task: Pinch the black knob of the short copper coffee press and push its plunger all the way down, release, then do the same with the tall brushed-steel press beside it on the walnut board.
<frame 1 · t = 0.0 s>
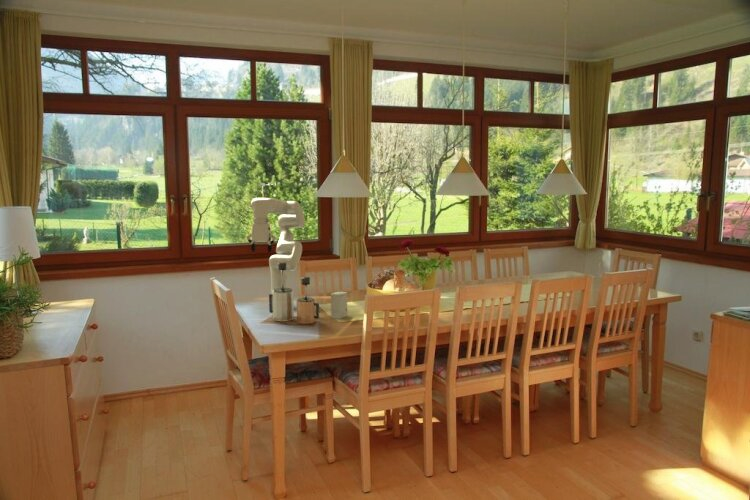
hand: (261, 251, 319), 37 cm above the table, tool pointing down, fingers open, 9 cm apart
walnut board: (292, 322, 310), on the table
skincare box: (339, 319, 318), on the table
copper press: (306, 321, 307), resting on walnut board
steel plunger: (282, 279, 309), point 23 cm above the table, slide at 0.0 cm
steel press: (283, 319, 312), resting on walnut board
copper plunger: (305, 291, 305), point 18 cm above the table, slide at 0.0 cm
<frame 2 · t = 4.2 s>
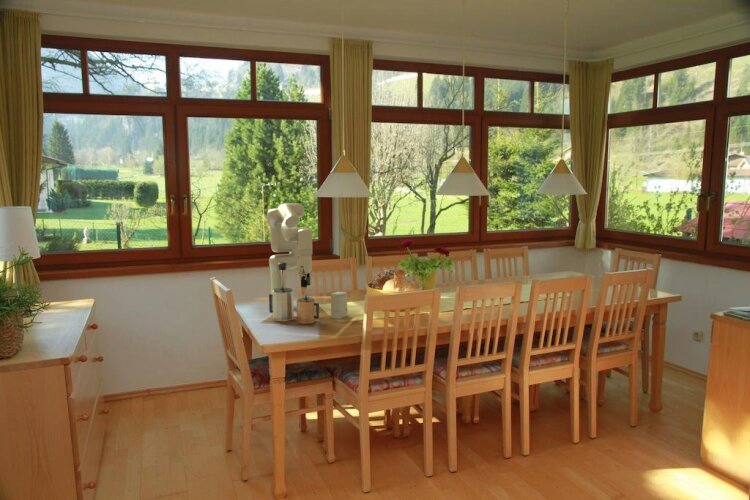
hand: (305, 285, 304), 21 cm above the table, tool pointing down, fingers closed on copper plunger, 4 cm apart
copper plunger: (305, 291, 305), point 18 cm above the table, slide at 0.0 cm, touching gripper
everything else where it was.
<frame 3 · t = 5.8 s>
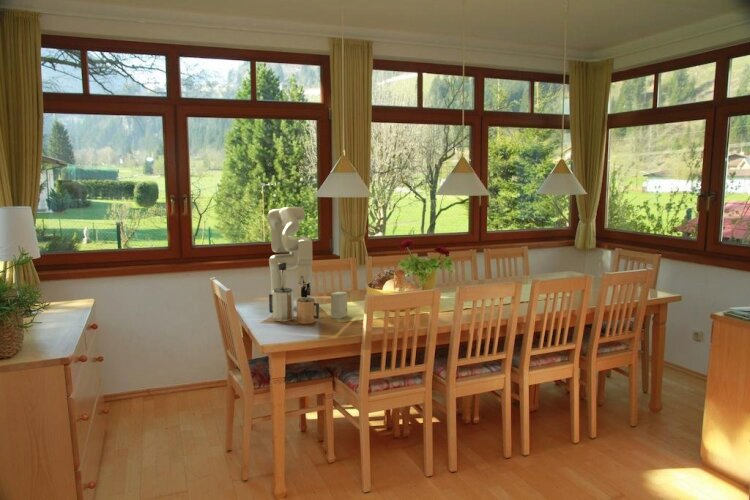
hand: (305, 295, 305), 16 cm above the table, tool pointing down, fingers closed on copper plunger, 4 cm apart
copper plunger: (305, 301, 305), point 12 cm above the table, slide at 5.5 cm, touching gripper
everything else where it was.
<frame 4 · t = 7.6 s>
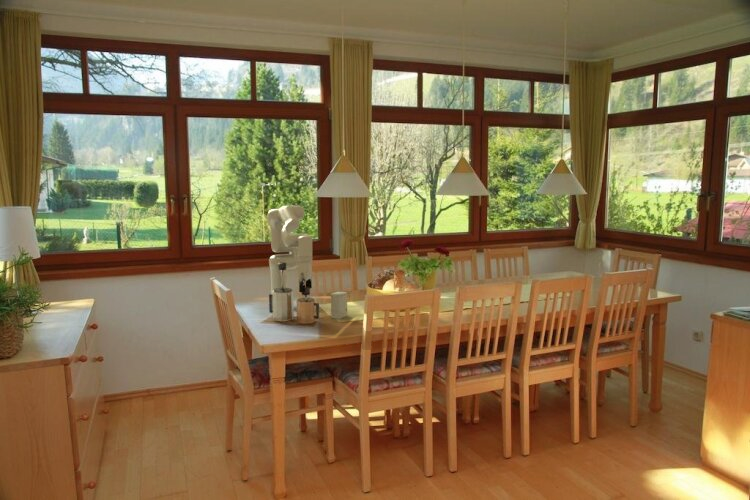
hand: (305, 290, 305), 18 cm above the table, tool pointing down, fingers open, 9 cm apart
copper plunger: (305, 301, 305), point 12 cm above the table, slide at 5.5 cm
everything else where it was.
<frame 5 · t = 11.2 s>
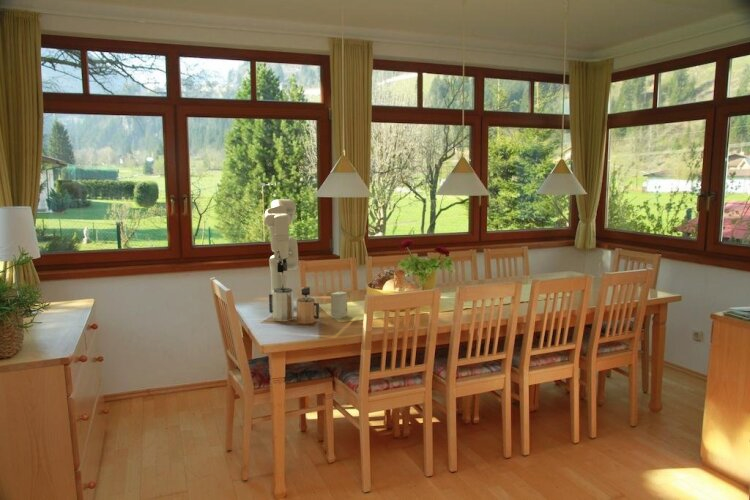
hand: (282, 271, 308), 28 cm above the table, tool pointing down, fingers closed on steel plunger, 4 cm apart
steel plunger: (282, 279, 309), point 23 cm above the table, slide at 0.0 cm, touching gripper
everything else where it was.
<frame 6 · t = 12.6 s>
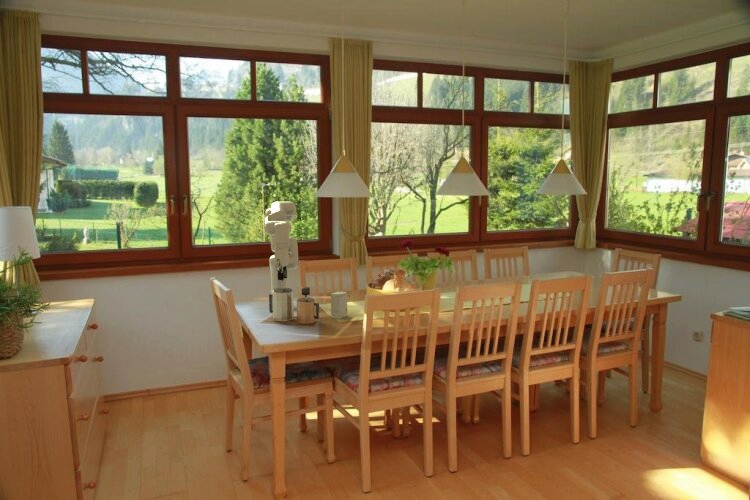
hand: (282, 278, 309), 24 cm above the table, tool pointing down, fingers closed on steel plunger, 4 cm apart
steel plunger: (282, 287, 310), point 19 cm above the table, slide at 4.2 cm, touching gripper
everything else where it was.
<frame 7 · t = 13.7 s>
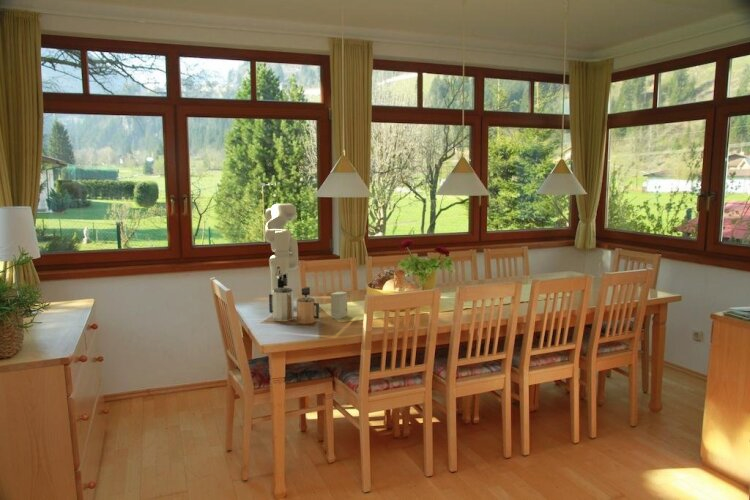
hand: (282, 286, 309), 20 cm above the table, tool pointing down, fingers closed on steel plunger, 4 cm apart
steel plunger: (282, 295, 310), point 15 cm above the table, slide at 8.5 cm, touching gripper
everything else where it was.
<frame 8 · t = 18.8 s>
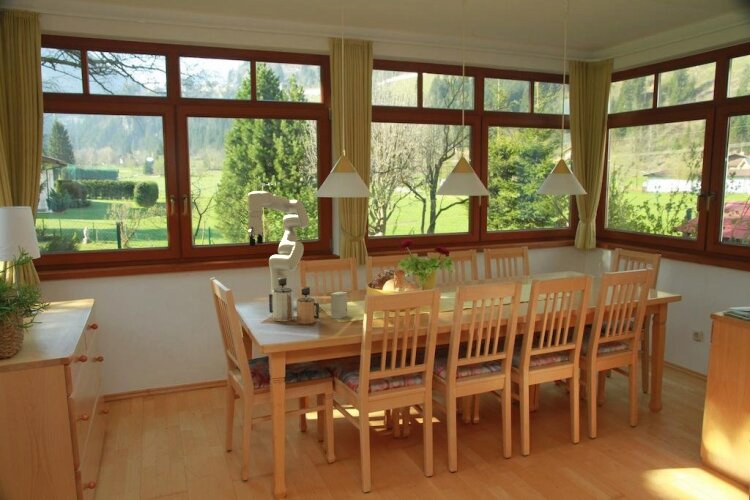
hand: (256, 244, 322), 40 cm above the table, tool pointing down, fingers open, 9 cm apart
steel plunger: (282, 295, 310), point 15 cm above the table, slide at 8.5 cm
everything else where it was.
at the end: steel plunger slide at 8.5 cm; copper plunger slide at 5.5 cm; the gripper is holding nothing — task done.
